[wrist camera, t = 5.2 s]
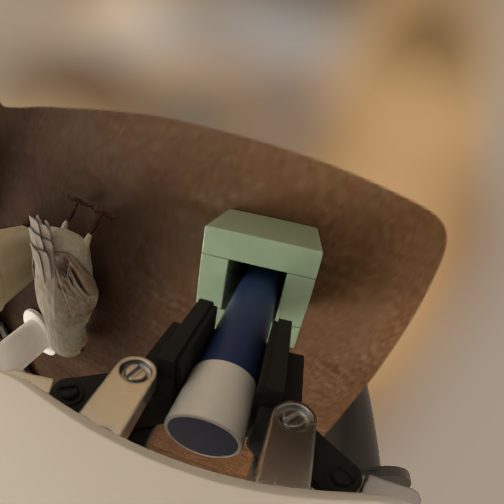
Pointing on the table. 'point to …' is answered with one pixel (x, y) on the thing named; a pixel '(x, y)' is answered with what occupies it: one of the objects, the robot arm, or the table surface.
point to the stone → (1, 329)
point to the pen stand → (260, 261)
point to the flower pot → (14, 262)
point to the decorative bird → (64, 281)
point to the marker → (227, 372)
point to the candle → (25, 343)
